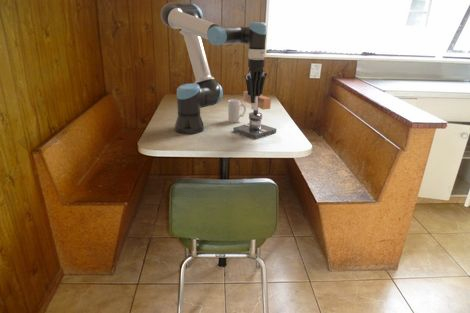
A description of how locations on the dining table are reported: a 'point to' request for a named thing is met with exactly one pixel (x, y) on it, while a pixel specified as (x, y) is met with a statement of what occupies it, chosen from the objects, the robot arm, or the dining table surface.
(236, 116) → the mug
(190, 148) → the dining table surface
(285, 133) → the dining table surface
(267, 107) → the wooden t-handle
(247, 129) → the base
